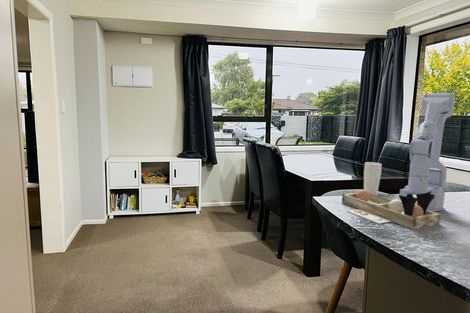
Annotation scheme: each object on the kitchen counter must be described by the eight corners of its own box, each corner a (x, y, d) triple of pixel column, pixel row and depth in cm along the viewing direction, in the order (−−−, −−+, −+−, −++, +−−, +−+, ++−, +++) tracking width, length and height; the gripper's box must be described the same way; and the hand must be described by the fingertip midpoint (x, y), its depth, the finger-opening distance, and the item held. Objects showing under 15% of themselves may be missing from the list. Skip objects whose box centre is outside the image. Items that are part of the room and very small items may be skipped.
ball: (362, 199, 131) (363, 187, 130) (372, 203, 127) (373, 190, 126) (353, 200, 129) (354, 188, 128) (363, 204, 125) (364, 191, 124)
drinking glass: (380, 200, 135) (383, 165, 133) (363, 198, 137) (366, 163, 135) (376, 196, 142) (379, 162, 140) (360, 194, 143) (363, 161, 141)
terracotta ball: (412, 216, 112) (413, 202, 111) (426, 220, 107) (427, 206, 106) (402, 217, 109) (403, 203, 109) (416, 222, 105) (417, 207, 104)
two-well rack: (365, 200, 135) (366, 191, 134) (439, 224, 107) (440, 214, 107) (341, 202, 129) (342, 194, 129) (413, 229, 102) (414, 218, 101)
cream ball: (394, 210, 118) (395, 197, 117) (406, 214, 113) (408, 200, 113) (384, 211, 116) (386, 198, 115) (397, 216, 111) (398, 202, 111)
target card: (359, 209, 121) (359, 208, 120) (391, 221, 108) (391, 220, 108) (347, 211, 118) (347, 210, 118) (378, 223, 105) (379, 222, 105)
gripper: (421, 172, 113) (417, 209, 115) (393, 174, 107) (389, 214, 109) (442, 175, 107) (437, 215, 108) (413, 178, 100) (408, 220, 102)
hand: (414, 215), depth 108 cm, fingers open, 6 cm apart
